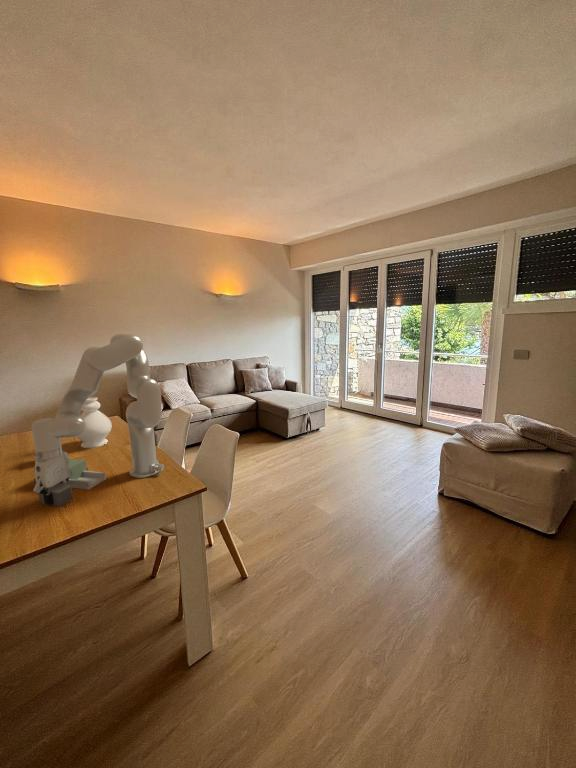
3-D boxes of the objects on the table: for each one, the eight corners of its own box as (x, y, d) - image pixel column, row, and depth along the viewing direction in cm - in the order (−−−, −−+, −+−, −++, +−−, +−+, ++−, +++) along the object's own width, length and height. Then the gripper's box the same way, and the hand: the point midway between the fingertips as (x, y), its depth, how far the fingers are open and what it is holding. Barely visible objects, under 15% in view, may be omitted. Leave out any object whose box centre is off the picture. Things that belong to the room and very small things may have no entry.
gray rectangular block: (72, 499, 122) (70, 484, 121) (60, 506, 117) (58, 490, 116) (52, 496, 124) (50, 481, 122) (40, 503, 119) (37, 488, 118)
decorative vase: (96, 451, 166) (90, 403, 162) (66, 448, 170) (60, 401, 165) (120, 438, 183) (116, 395, 179) (93, 436, 187) (88, 394, 182)
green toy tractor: (109, 476, 139) (107, 452, 137) (84, 492, 126) (80, 465, 124) (62, 471, 144) (59, 447, 142) (33, 486, 131) (29, 460, 129)
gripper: (35, 464, 108) (43, 514, 111) (77, 445, 124) (83, 489, 128) (16, 462, 109) (25, 511, 113) (61, 443, 126) (67, 487, 129)
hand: (56, 499), depth 120 cm, fingers closed on gray rectangular block, 5 cm apart
